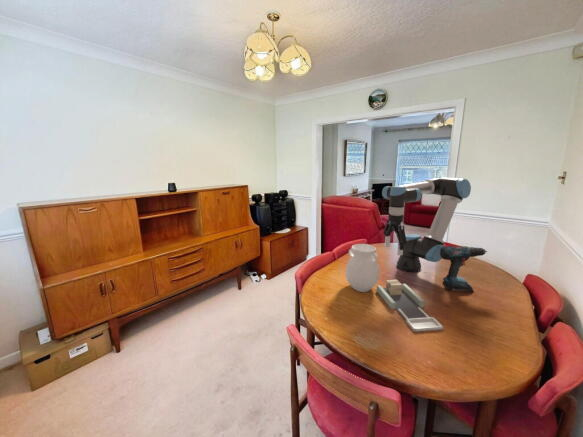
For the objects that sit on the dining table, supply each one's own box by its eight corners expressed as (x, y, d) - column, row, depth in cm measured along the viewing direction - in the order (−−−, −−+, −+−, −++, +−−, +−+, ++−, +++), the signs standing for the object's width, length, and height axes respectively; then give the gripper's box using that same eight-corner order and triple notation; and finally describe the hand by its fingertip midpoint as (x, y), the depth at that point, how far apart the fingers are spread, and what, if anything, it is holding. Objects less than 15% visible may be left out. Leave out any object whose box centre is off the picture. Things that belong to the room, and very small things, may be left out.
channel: (376, 291, 141) (377, 285, 140) (404, 289, 142) (405, 283, 141) (391, 309, 124) (392, 303, 123) (423, 307, 125) (424, 300, 124)
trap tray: (405, 321, 114) (405, 318, 114) (432, 319, 115) (433, 316, 114) (414, 331, 107) (414, 328, 107) (442, 329, 108) (443, 326, 108)
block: (385, 289, 141) (386, 280, 140) (396, 289, 142) (396, 279, 140) (390, 295, 135) (391, 285, 134) (401, 294, 136) (402, 284, 135)
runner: (378, 288, 144) (378, 287, 143) (399, 287, 144) (399, 286, 144) (405, 321, 114) (405, 319, 114) (431, 319, 115) (432, 317, 115)
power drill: (485, 293, 136) (492, 250, 130) (439, 289, 141) (444, 248, 135) (477, 285, 144) (483, 244, 139) (433, 282, 149) (438, 243, 143)
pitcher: (383, 286, 145) (386, 246, 140) (369, 299, 132) (371, 255, 127) (354, 277, 158) (356, 240, 152) (339, 288, 145) (340, 247, 139)
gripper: (378, 210, 148) (376, 244, 153) (402, 219, 124) (399, 259, 129) (390, 209, 149) (388, 243, 154) (416, 218, 125) (412, 258, 129)
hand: (393, 250), depth 141 cm, fingers open, 13 cm apart
